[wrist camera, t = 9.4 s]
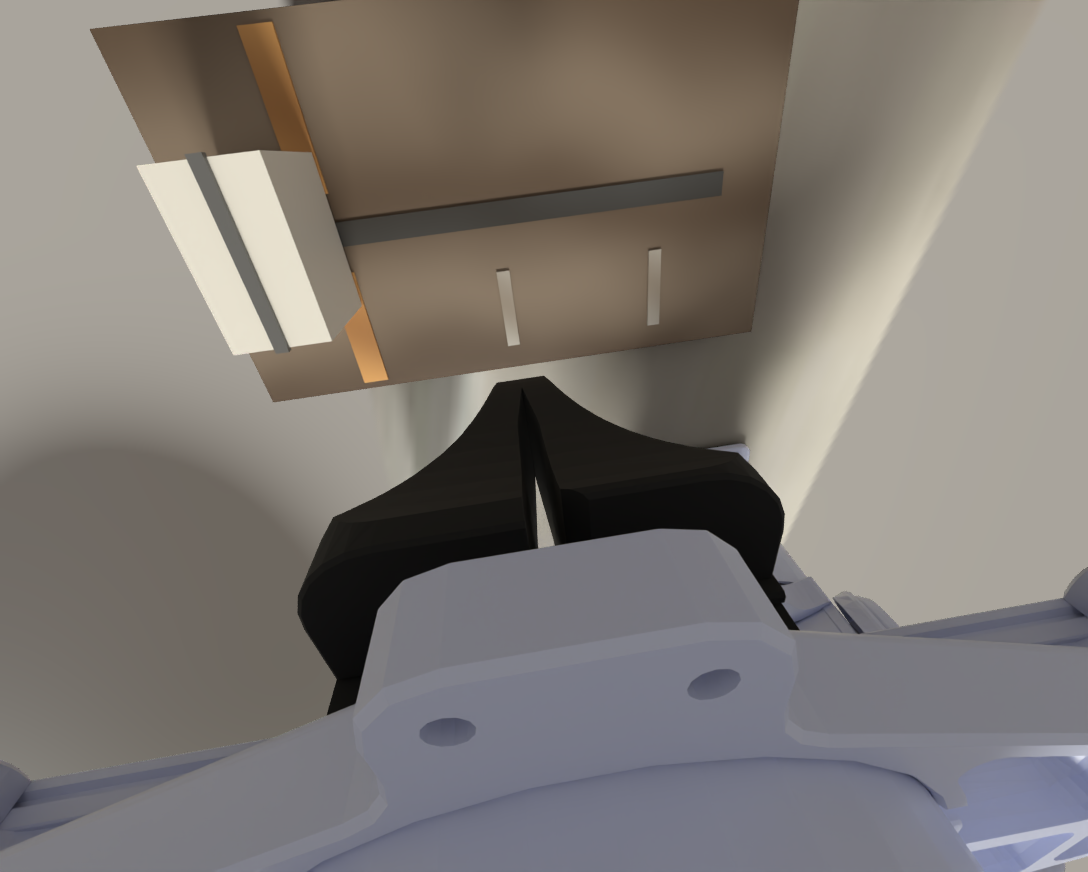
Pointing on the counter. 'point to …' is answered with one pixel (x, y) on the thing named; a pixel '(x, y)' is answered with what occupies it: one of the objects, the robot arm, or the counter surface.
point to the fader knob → (258, 245)
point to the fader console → (494, 165)
